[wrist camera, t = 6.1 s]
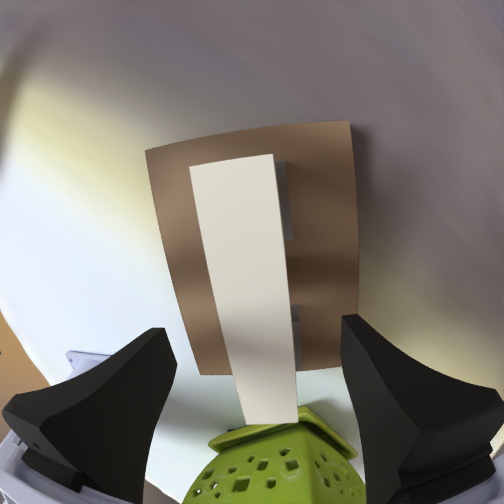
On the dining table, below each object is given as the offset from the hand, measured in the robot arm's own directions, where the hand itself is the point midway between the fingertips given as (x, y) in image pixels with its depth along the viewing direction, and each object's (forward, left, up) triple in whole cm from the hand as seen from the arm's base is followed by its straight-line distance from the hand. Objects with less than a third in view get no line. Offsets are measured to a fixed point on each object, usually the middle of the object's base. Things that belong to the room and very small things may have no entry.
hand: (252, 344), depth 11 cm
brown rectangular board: (0, 0, -9) cm, 9 cm away
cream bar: (0, 0, -5) cm, 5 cm away
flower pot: (-21, 0, -9) cm, 23 cm away
